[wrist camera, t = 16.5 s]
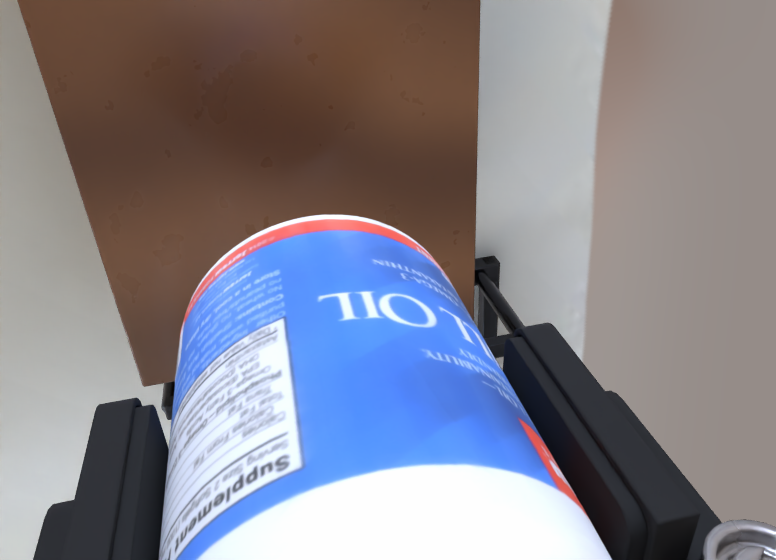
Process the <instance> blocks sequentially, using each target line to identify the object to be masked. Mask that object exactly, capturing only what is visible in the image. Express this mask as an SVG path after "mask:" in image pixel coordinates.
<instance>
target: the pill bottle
mask: <svg viewBox="0 0 776 560" xmlns="http://www.w3.org/2000/svg"><path fill="white" fill-rule="evenodd" d="M168 451H169V454H168V463H167V474H166V485H165V495H164V506H163V517H162V527H161V538H160V549H159V560H612V559H611V557H610V555H609V553H608V552H607V550H606V548H605V546H604V544H603V543H602V541H601V539H600V537H599V535H598V534H597V532H596V530H595V528H594V526H593V525H592V523H591V521H590V519H589V517H588V516H587V514H586V512H585V510H584V508H583V507H582V505H581V504H580V502H579V500H578V499H577V497H576V495H575V493H574V491H573V490H572V488H571V487H570V485H569V483H568V482H567V480H566V478H565V477H564V475H563V474H562V472H561V470H560V468H559V467H558V465H557V463H556V462H555V460H554V458H553V457H552V455H551V453H550V451H549V450H548V448H547V446H546V445H545V443H544V441H543V440H542V438H541V436H540V434H539V433H538V431H537V429H536V428H535V426H534V424H533V422H532V421H531V419H530V417H529V416H528V414H527V412H526V410H525V409H524V407H523V405H522V404H521V402H520V400H519V398H518V397H517V395H516V393H515V391H514V390H513V388H512V386H511V384H510V383H509V381H508V379H507V378H506V376H505V374H504V372H503V371H502V369H501V368H500V366H499V364H498V363H497V361H496V359H495V358H494V356H493V354H492V352H491V351H490V349H489V347H488V345H487V344H486V342H485V340H484V338H483V337H482V335H481V333H480V332H479V330H478V328H477V326H476V325H475V323H474V321H473V320H472V318H471V316H470V314H469V313H468V311H467V309H466V307H465V306H464V304H463V302H462V301H461V299H460V297H459V296H458V294H457V292H456V290H455V289H454V287H453V285H452V283H451V282H450V280H449V278H448V277H447V275H446V274H445V273H444V271H443V270H442V268H441V267H440V266H439V265H438V263H437V262H436V261H435V260H434V258H433V257H432V256H431V255H430V254H429V253H428V252H427V251H426V250H425V249H424V248H423V247H422V246H421V245H420V244H418V243H417V242H416V241H415V240H413V239H412V238H410V237H409V236H408V235H406V234H404V233H403V232H401V231H399V230H397V229H395V228H393V227H391V226H389V225H386V224H383V223H381V222H378V221H375V220H372V219H368V218H364V217H358V216H349V215H315V216H308V217H302V218H297V219H293V220H290V221H286V222H282V223H280V224H277V225H274V226H271V227H269V228H267V229H265V230H262V231H260V232H258V233H256V234H254V235H252V236H251V237H249V238H247V239H246V240H244V241H243V242H241V243H240V244H238V245H237V246H235V247H234V248H233V249H231V250H230V251H229V252H228V253H226V254H225V255H224V256H223V257H222V258H221V259H220V260H219V261H218V262H217V263H216V264H215V265H214V266H213V267H212V268H211V269H210V270H209V272H208V273H207V274H206V275H205V276H204V278H203V279H202V281H201V282H200V284H199V285H198V287H197V289H196V291H195V292H194V294H193V296H192V298H191V301H190V303H189V305H188V308H187V311H186V314H185V317H184V321H183V324H182V328H181V332H180V342H179V349H178V356H177V364H176V376H175V391H174V400H173V410H172V422H171V433H170V441H169V450H168Z"/></svg>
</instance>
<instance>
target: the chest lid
mask: <svg viewBox="0 0 776 560" xmlns="http://www.w3.org/2000/svg"><path fill="white" fill-rule="evenodd" d="M17 1H18V4H19V7H20V10H21V13H22V16H23V20H24V23H25V26H26V29H27V32H28V35H29V38H30V41H31V44H32V47H33V50H34V53H35V56H36V59H37V62H38V66H39V69H40V72H41V75H42V78H43V81H44V84H45V87H46V90H47V93H48V96H49V99H50V102H51V105H52V108H53V112H54V115H55V118H56V121H57V124H58V127H59V130H60V133H61V136H62V139H63V142H64V145H65V148H66V151H67V154H68V158H69V161H70V164H71V167H72V170H73V173H74V176H75V179H76V182H77V185H78V188H79V191H80V194H81V197H82V201H83V204H84V207H85V210H86V213H87V216H88V219H89V222H90V225H91V228H92V231H93V234H94V237H95V240H96V243H97V247H98V250H99V253H100V256H101V259H102V262H103V265H104V268H105V271H106V274H107V277H108V280H109V283H110V286H111V289H112V293H113V296H114V299H115V302H116V305H117V308H118V311H119V314H120V317H121V320H122V323H123V326H124V329H125V332H126V335H127V339H128V342H129V345H130V348H131V351H132V354H133V357H134V360H135V363H136V366H137V369H138V372H139V375H140V378H141V382H142V385H143V386H144V387H145V386H151V385H156V384H162V383H168V382H173V381H175V376H176V364H177V356H178V349H179V342H180V332H181V328H182V324H183V321H184V317H185V314H186V311H187V308H188V305H189V303H190V301H191V298H192V296H193V294H194V292H195V291H196V289H197V287H198V285H199V284H200V282H201V281H202V279H203V278H204V276H205V275H206V274H207V273H208V272H209V270H210V269H211V268H212V267H213V266H214V265H215V264H216V263H217V262H218V261H219V260H220V259H221V258H222V257H223V256H224V255H225V254H226V253H228V252H229V251H230V250H231V249H233V248H234V247H235V246H237V245H238V244H240V243H241V242H243V241H244V240H246V239H247V238H249V237H251V236H252V235H254V234H256V233H258V232H260V231H262V230H265V229H267V228H269V227H271V226H274V225H277V224H280V223H282V222H286V221H290V220H293V219H297V218H302V217H308V216H315V215H349V216H358V217H364V218H368V219H372V220H375V221H378V222H381V223H383V224H386V225H389V226H391V227H393V228H395V229H397V230H399V231H401V232H403V233H404V234H406V235H408V236H409V237H410V238H412V239H413V240H415V241H416V242H417V243H418V244H420V245H421V246H422V247H423V248H424V249H425V250H426V251H427V252H428V253H429V254H430V255H431V256H432V257H433V258H434V260H435V261H436V262H437V263H438V265H439V266H440V267H441V268H442V270H443V271H444V273H445V274H446V275H447V277H448V278H449V280H450V282H451V283H452V285H453V287H454V289H455V290H456V292H457V294H458V296H459V297H460V299H461V301H462V302H463V304H464V306H465V307H466V309H467V311H468V313H469V314H470V316H471V318H472V320H473V321H474V278H475V231H476V184H477V136H478V89H479V42H480V0H17Z"/></svg>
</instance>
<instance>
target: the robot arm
mask: <svg viewBox="0 0 776 560" xmlns="http://www.w3.org/2000/svg"><path fill="white" fill-rule="evenodd" d="M503 372H504V374H505V376H506V378H507V379H508V381H509V383H510V384H511V386H512V388H513V390H514V391H515V393H516V395H517V397H518V398H519V400H520V402H521V404H522V405H523V407H524V409H525V410H526V412H527V414H528V416H529V417H530V419H531V421H532V422H533V424H534V426H535V428H536V429H537V431H538V433H539V434H540V436H541V438H542V440H543V441H544V443H545V445H546V446H547V448H548V450H549V451H550V453H551V455H552V457H553V458H554V460H555V462H556V463H557V465H558V467H559V468H560V470H561V472H562V474H563V475H564V477H565V478H566V480H567V482H568V483H569V485H570V487H571V488H572V490H573V491H574V493H575V495H576V497H577V499H578V500H579V502H580V504H581V505H582V507H583V508H584V510H585V512H586V514H587V516H588V517H589V519H590V521H591V523H592V525H593V526H594V528H595V530H596V532H597V534H598V535H599V537H600V539H601V541H602V543H603V544H604V546H605V548H606V550H607V552H608V553H609V555H610V557H611V559H612V560H776V527H774V526H772V525H769V524H767V523H764V522H758V521H752V520H746V519H744V520H733V521H732V520H731V521H727V522H724V523H721V521H720V520H719V519H718V517H717V516H716V515H715V514H714V512H713V511H712V510H711V509H710V507H709V506H708V505H707V504H706V502H705V501H704V500H703V499H702V497H701V496H700V495H699V494H698V492H697V491H696V490H695V489H694V488H693V486H692V485H691V484H690V482H689V481H688V480H687V479H686V478H685V476H684V475H683V474H682V473H681V471H680V470H679V469H678V468H677V466H676V465H675V464H674V463H673V461H672V460H671V459H670V458H669V456H668V455H667V454H666V453H665V451H664V450H663V449H662V448H661V446H660V445H659V444H658V443H657V442H656V440H655V439H654V438H653V436H652V435H651V434H650V433H649V431H648V430H647V429H646V428H645V427H644V425H643V424H642V423H641V422H640V421H639V419H638V418H637V417H636V415H635V414H634V413H633V412H632V410H631V409H630V408H629V407H628V405H627V404H626V403H625V402H624V400H623V399H622V398H621V397H620V396H619V395H618V394H617V393H614V392H612V391H604V390H603V388H602V387H601V386H600V384H599V383H598V382H597V380H596V379H595V378H594V377H593V375H592V374H591V373H590V372H589V370H588V369H587V368H586V366H585V365H584V364H583V363H582V361H581V360H580V359H579V357H578V356H577V355H576V354H575V352H574V351H573V350H572V348H571V347H570V346H569V345H568V343H567V342H566V341H565V340H564V338H563V337H562V336H561V334H560V333H559V332H558V331H557V329H556V328H555V327H554V326H553V325H552V324H551V323H543V324H538V325H532V326H527V327H521V328H517V329H516V330H515V332H514V336H513V338H509V339H507V340H506V341H505V345H504V362H503ZM168 450H169V449H168V446H167V442H166V439H165V436H164V433H163V430H162V427H161V424H160V421H159V417H158V414H157V411H156V409H155V407H154V405H147V406H142V404H141V402H140V400H139V399H138V398H132V399H127V400H121V401H116V402H110V403H105V404H99V405H98V406H97V408H96V411H95V414H94V419H93V423H92V427H91V431H90V436H89V440H88V444H87V448H86V453H85V457H84V461H83V465H82V470H81V474H80V478H79V482H78V487H77V491H76V495H75V499H74V500H71V501H67V502H62V503H57V504H53V505H52V506H51V507H50V508H49V509H48V511H47V514H46V516H45V519H44V522H43V526H42V529H41V533H40V537H39V540H38V544H37V547H36V551H35V555H34V558H33V560H159V549H160V538H161V527H162V517H163V506H164V495H165V485H166V474H167V463H168V454H169V451H168Z"/></svg>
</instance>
